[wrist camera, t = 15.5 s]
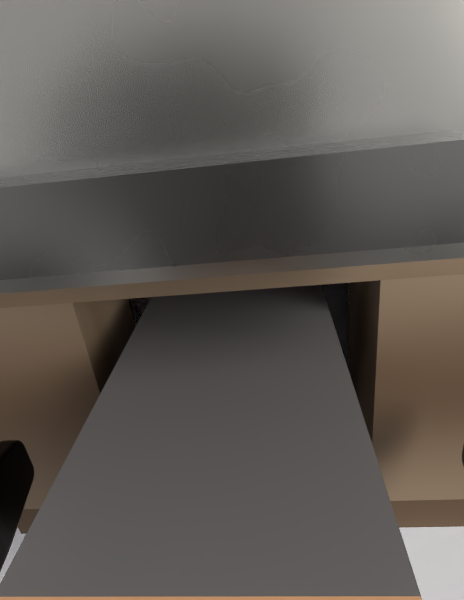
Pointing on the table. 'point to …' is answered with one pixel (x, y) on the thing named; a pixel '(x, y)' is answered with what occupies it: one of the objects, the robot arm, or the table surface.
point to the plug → (221, 467)
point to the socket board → (362, 289)
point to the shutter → (226, 138)
